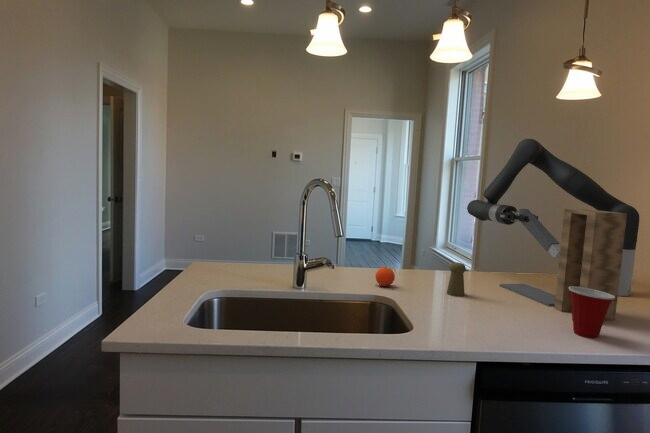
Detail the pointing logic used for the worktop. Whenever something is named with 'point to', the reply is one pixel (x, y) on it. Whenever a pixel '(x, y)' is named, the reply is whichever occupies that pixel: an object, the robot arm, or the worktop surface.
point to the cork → (456, 280)
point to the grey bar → (541, 234)
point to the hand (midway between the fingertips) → (532, 219)
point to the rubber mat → (532, 293)
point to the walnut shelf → (590, 255)
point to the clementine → (385, 276)
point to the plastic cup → (589, 310)
